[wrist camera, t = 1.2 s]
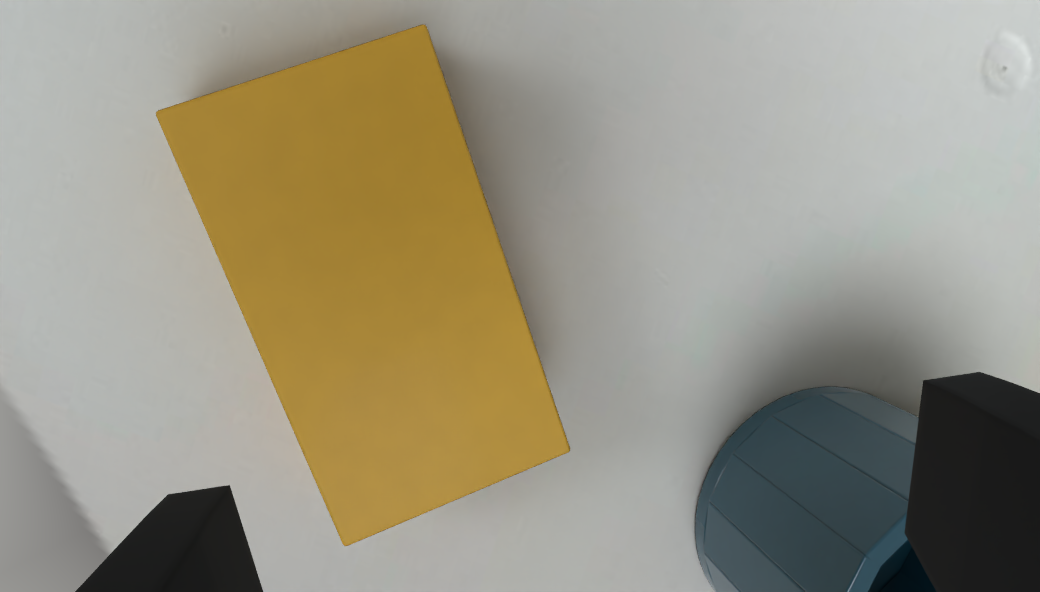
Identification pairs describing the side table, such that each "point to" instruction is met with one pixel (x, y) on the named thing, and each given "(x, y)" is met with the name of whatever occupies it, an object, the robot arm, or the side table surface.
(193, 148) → the block
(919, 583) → the coffee cup
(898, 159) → the side table surface
